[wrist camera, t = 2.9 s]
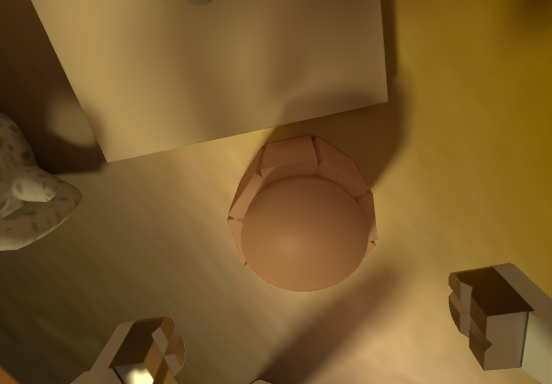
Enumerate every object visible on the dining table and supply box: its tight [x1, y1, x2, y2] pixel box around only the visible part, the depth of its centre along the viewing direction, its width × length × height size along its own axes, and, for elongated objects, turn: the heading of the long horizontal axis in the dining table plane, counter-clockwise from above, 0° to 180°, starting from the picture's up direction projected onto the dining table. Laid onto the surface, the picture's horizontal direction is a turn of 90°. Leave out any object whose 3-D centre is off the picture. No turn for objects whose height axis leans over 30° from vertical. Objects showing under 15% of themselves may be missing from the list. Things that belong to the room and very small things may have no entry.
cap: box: [227, 135, 378, 291], centre depth 14 cm, size 6×6×4 cm
